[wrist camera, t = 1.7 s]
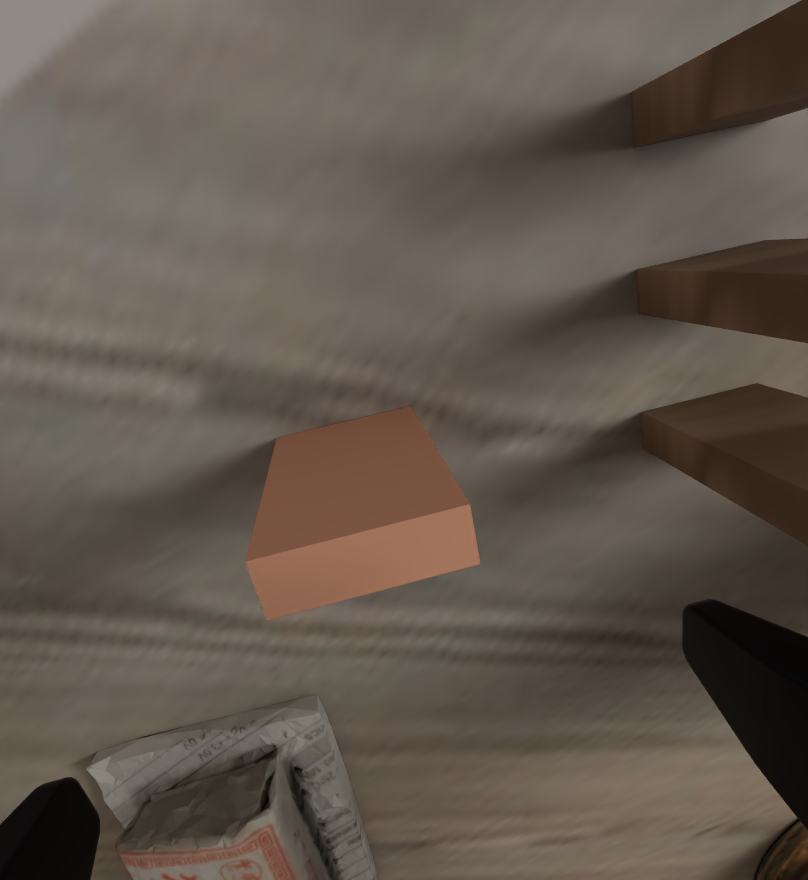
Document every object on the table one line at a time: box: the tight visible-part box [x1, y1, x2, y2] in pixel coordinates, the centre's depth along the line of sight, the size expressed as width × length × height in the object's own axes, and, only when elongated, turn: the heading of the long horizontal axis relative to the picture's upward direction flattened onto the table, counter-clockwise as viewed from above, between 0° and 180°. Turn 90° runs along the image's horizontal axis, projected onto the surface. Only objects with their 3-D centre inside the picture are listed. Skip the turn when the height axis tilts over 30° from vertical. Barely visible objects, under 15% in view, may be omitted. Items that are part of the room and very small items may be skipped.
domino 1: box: [245, 406, 480, 621], centre depth 15 cm, size 2×5×8 cm, turn 101°
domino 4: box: [642, 383, 808, 546], centre depth 17 cm, size 2×5×8 cm, turn 102°
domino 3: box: [637, 238, 808, 343], centre depth 15 cm, size 2×5×8 cm, turn 101°
